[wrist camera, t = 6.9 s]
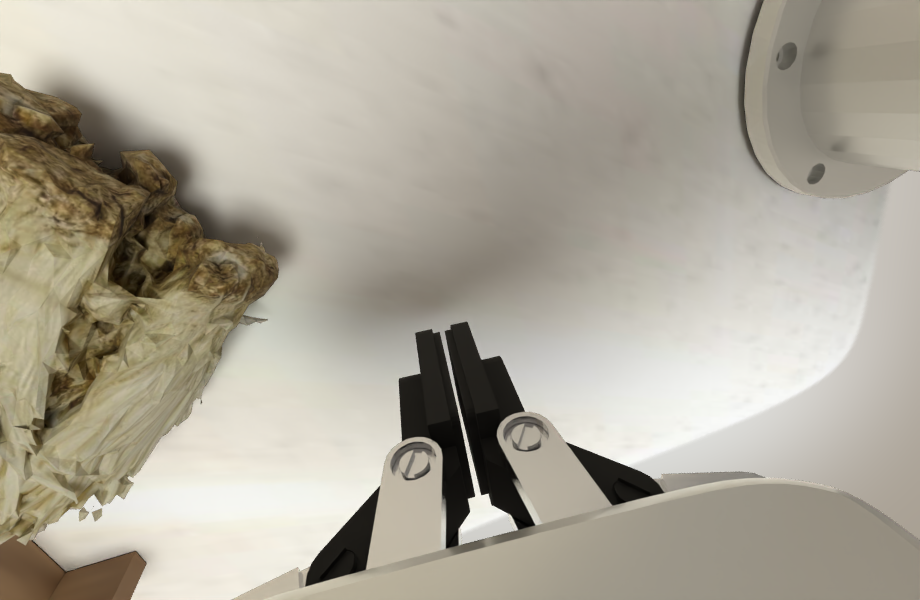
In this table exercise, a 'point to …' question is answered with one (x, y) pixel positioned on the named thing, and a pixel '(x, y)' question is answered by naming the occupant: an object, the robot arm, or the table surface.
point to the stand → (64, 576)
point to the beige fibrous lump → (98, 312)
